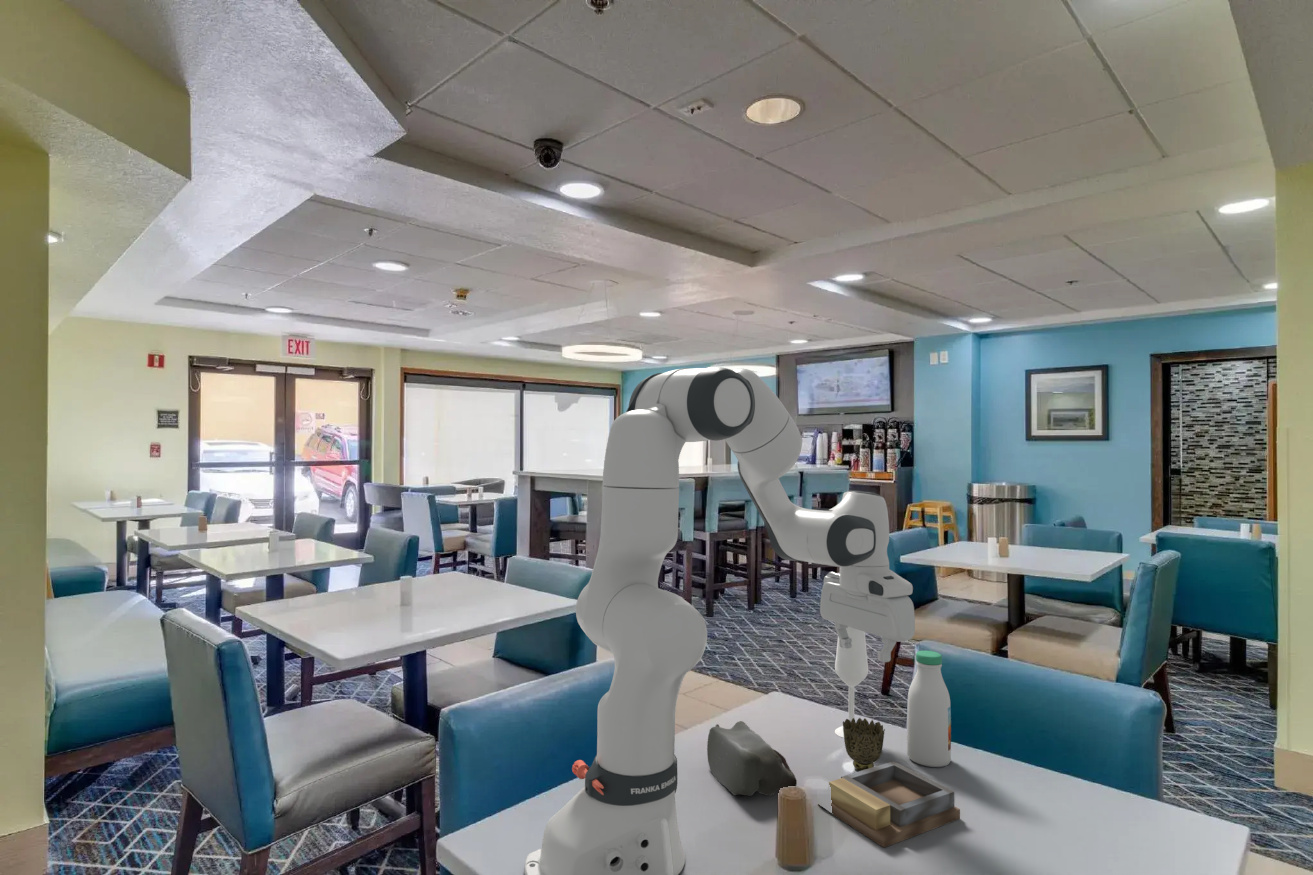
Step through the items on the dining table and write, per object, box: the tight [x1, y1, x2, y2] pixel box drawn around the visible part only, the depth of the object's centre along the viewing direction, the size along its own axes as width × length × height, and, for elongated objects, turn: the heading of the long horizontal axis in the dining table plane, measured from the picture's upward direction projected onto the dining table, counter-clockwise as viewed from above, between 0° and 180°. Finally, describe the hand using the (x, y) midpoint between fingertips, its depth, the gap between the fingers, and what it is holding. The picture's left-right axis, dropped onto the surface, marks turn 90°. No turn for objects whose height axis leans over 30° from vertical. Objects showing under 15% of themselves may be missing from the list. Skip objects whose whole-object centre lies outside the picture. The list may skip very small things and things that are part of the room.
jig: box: [828, 760, 961, 849], centre depth 113 cm, size 17×14×4 cm
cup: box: [842, 717, 886, 772], centre depth 128 cm, size 8×7×8 cm
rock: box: [706, 720, 798, 796], centre depth 123 cm, size 18×11×8 cm, turn 20°
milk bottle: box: [906, 650, 952, 768], centre depth 133 cm, size 8×8×20 cm
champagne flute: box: [834, 627, 869, 739], centre depth 145 cm, size 7×7×24 cm
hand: (864, 654), depth 129 cm, fingers open, 8 cm apart
